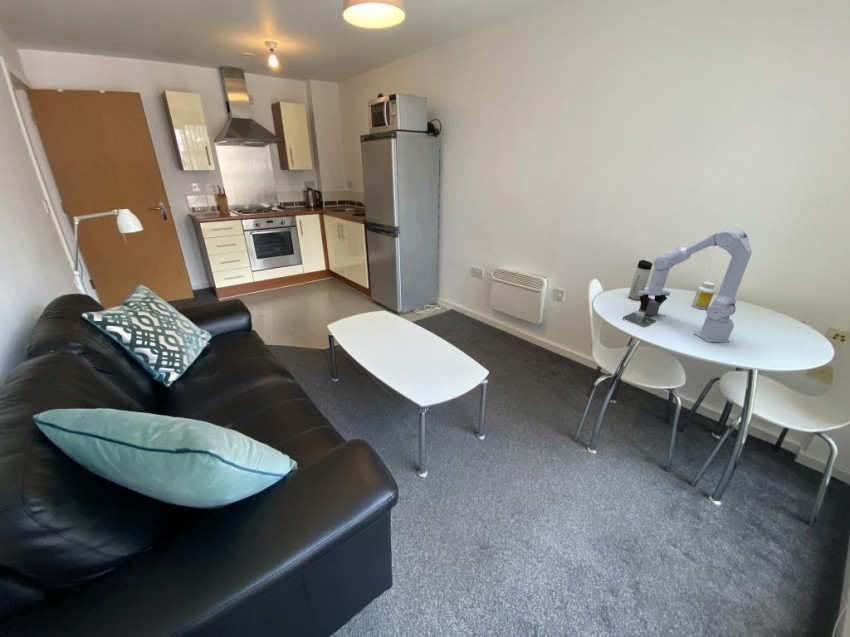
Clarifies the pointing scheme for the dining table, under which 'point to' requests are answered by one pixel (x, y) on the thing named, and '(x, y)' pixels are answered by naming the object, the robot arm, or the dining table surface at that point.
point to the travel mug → (640, 279)
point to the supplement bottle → (704, 296)
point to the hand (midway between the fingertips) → (648, 309)
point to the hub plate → (639, 319)
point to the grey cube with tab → (651, 307)
